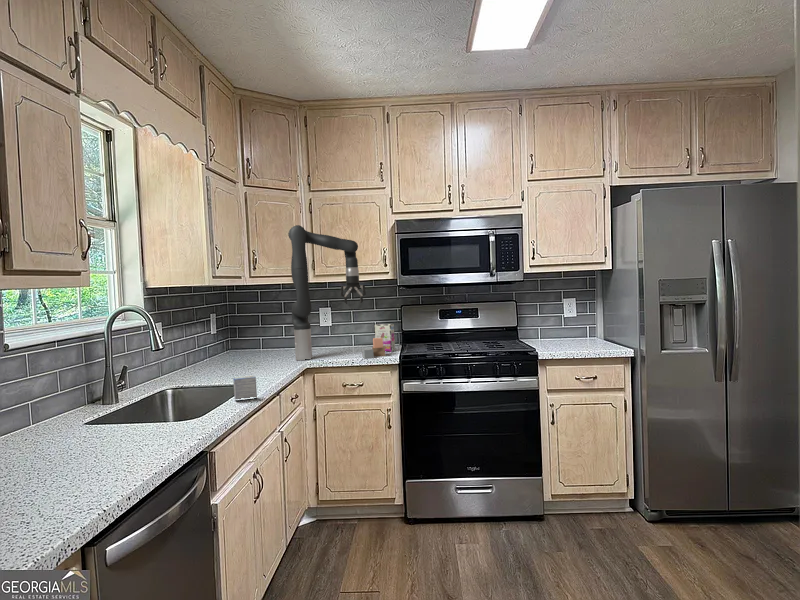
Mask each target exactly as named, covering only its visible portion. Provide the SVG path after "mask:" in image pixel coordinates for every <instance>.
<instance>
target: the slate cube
mask: <svg viewBox="0 0 800 600" xmlns="http://www.w3.org/2000/svg"><path fill="white" fill-rule="evenodd" d="M361 353H362V355H361V356H362V357H363V358H362V359H364V360H369V359H370V360H371V359H374V358H375V357H374V355H373V349H372V348H362V349H361Z"/></svg>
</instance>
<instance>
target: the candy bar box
mask: <svg viewBox="0 0 800 600" xmlns="http://www.w3.org/2000/svg"><path fill="white" fill-rule="evenodd" d="M395 337H396V335H395V324H394V323H378V324H374V338H383V346H385V351H387V352H386V353H393V352H396V343H395V342H396V339H395ZM392 351H393V352H392Z"/></svg>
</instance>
